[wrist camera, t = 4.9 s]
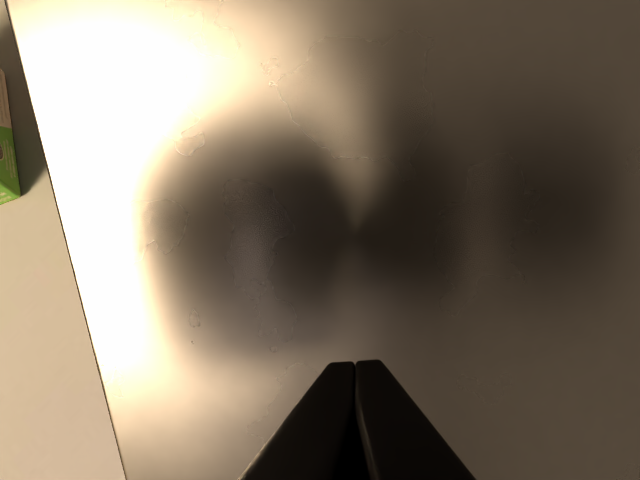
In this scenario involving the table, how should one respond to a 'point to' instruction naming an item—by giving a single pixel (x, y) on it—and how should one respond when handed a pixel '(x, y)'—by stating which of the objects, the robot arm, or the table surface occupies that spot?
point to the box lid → (351, 218)
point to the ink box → (7, 150)
